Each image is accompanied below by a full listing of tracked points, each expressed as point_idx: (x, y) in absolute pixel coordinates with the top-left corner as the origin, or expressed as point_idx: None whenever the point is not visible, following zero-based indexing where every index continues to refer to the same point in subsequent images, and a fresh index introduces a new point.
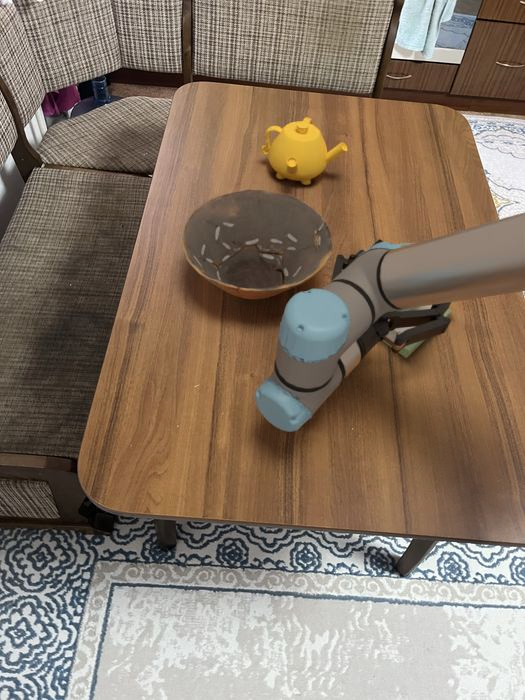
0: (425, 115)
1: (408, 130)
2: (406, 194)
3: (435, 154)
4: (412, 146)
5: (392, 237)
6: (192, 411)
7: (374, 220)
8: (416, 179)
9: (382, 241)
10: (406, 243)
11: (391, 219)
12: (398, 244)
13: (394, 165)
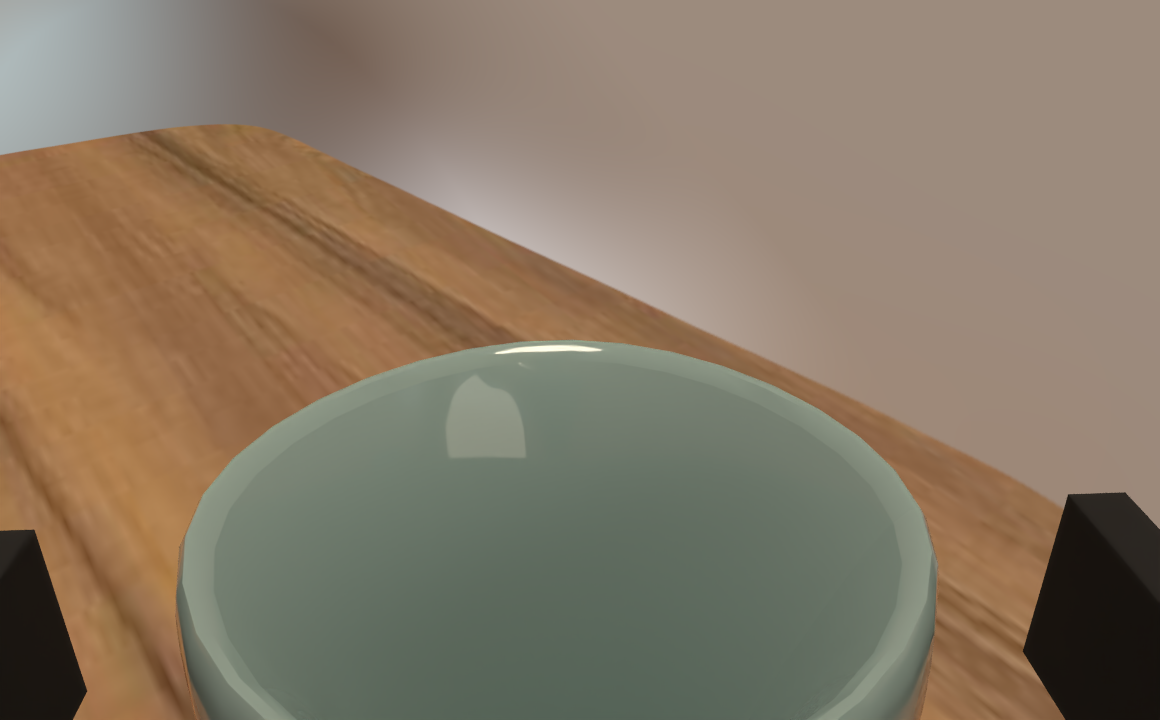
0: (135, 143)
1: (92, 183)
2: (187, 334)
3: (231, 202)
4: (130, 210)
5: None
6: None
7: (64, 498)
8: (202, 278)
9: (23, 538)
10: (330, 402)
11: (165, 450)
12: (240, 454)
13: (80, 273)
